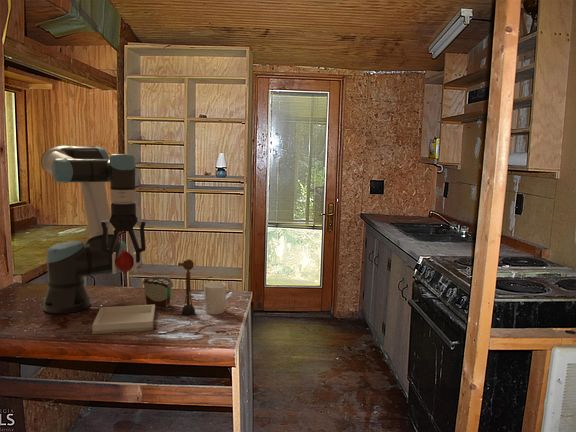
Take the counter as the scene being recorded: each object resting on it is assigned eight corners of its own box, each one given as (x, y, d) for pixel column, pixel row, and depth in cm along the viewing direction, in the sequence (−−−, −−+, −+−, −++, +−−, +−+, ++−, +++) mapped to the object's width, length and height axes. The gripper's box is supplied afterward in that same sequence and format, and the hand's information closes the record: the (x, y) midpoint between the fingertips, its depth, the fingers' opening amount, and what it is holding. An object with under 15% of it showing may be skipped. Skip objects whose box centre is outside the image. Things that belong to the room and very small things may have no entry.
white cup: (221, 316, 157) (221, 288, 156) (200, 313, 159) (200, 286, 157) (229, 308, 165) (229, 282, 164) (208, 306, 166) (209, 280, 165)
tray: (92, 334, 139) (92, 324, 139) (100, 315, 154) (100, 307, 154) (152, 330, 143) (152, 321, 143) (155, 312, 159) (155, 304, 158)
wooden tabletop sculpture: (176, 315, 157) (176, 260, 154) (181, 310, 161) (181, 256, 158) (192, 316, 156) (192, 261, 153) (197, 312, 160) (197, 257, 157)
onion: (118, 270, 149) (118, 247, 148) (136, 270, 150) (135, 247, 149) (113, 275, 143) (112, 251, 142) (131, 275, 144) (131, 251, 143)
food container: (180, 305, 167) (180, 279, 166) (169, 310, 162) (169, 283, 160) (154, 299, 172) (154, 274, 171) (143, 304, 167) (142, 278, 165)
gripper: (89, 203, 137) (92, 276, 140) (153, 203, 142) (154, 274, 145) (93, 201, 144) (96, 270, 148) (154, 201, 149) (155, 268, 152)
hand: (124, 272), depth 146 cm, fingers closed on onion, 6 cm apart
